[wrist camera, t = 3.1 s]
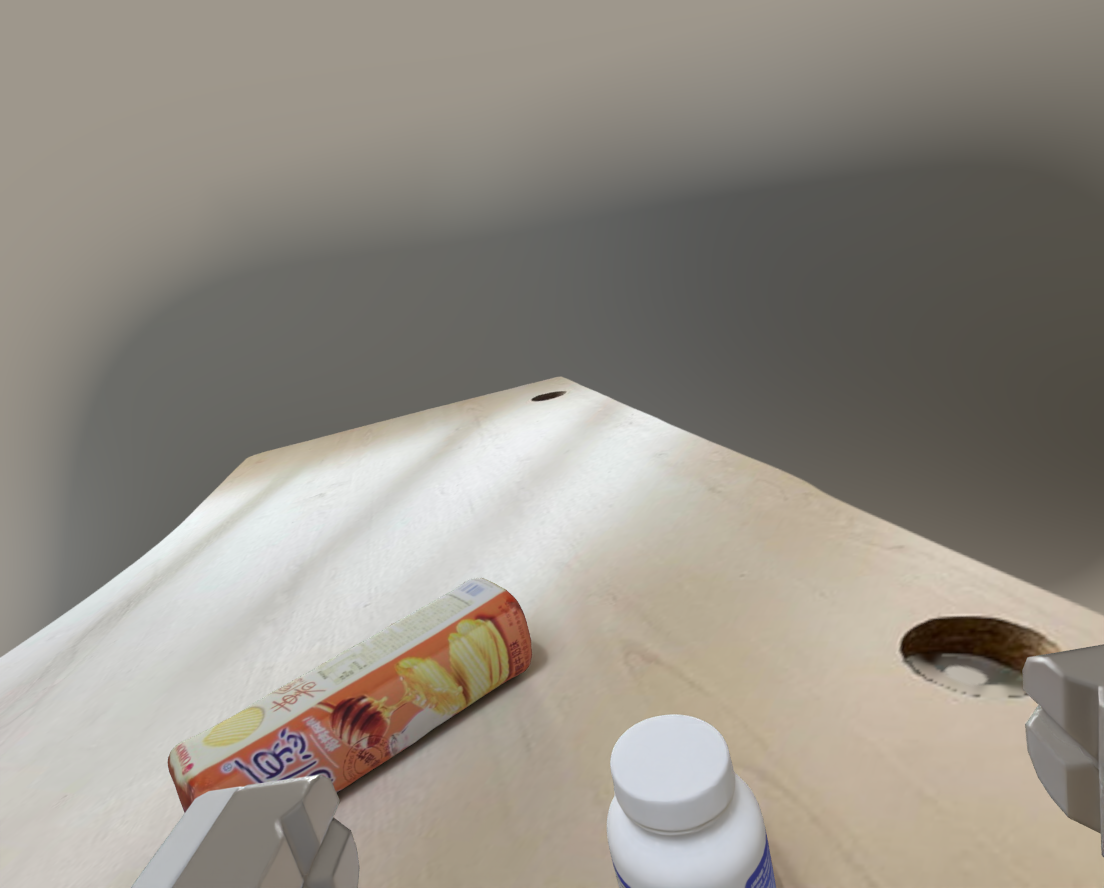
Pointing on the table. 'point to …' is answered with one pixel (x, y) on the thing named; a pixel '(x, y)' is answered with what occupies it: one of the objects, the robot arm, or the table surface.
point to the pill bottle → (683, 811)
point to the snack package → (365, 698)
